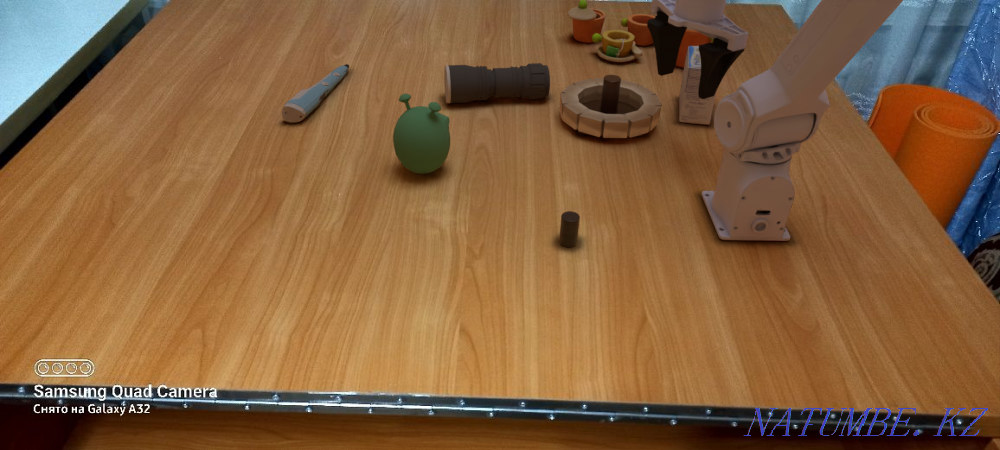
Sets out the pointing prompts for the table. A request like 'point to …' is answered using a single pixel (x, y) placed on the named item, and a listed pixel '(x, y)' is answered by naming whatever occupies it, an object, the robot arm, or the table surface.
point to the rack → (609, 99)
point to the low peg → (569, 229)
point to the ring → (609, 123)
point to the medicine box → (693, 92)
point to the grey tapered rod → (312, 96)
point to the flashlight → (495, 82)
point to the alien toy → (421, 137)
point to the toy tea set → (624, 35)
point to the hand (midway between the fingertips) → (685, 84)
